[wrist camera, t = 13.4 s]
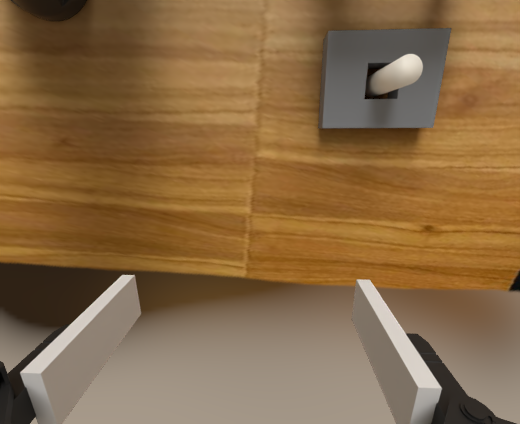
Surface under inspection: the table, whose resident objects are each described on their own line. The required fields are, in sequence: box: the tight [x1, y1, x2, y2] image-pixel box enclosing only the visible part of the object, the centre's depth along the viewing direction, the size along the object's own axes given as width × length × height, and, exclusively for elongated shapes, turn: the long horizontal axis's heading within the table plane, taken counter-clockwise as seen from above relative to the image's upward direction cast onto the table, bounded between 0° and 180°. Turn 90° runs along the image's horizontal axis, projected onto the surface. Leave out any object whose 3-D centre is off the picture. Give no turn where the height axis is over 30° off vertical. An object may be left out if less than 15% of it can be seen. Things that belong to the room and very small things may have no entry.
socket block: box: [318, 28, 451, 128], centre depth 43 cm, size 18×14×4 cm
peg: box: [365, 54, 423, 97], centre depth 39 cm, size 4×4×12 cm
